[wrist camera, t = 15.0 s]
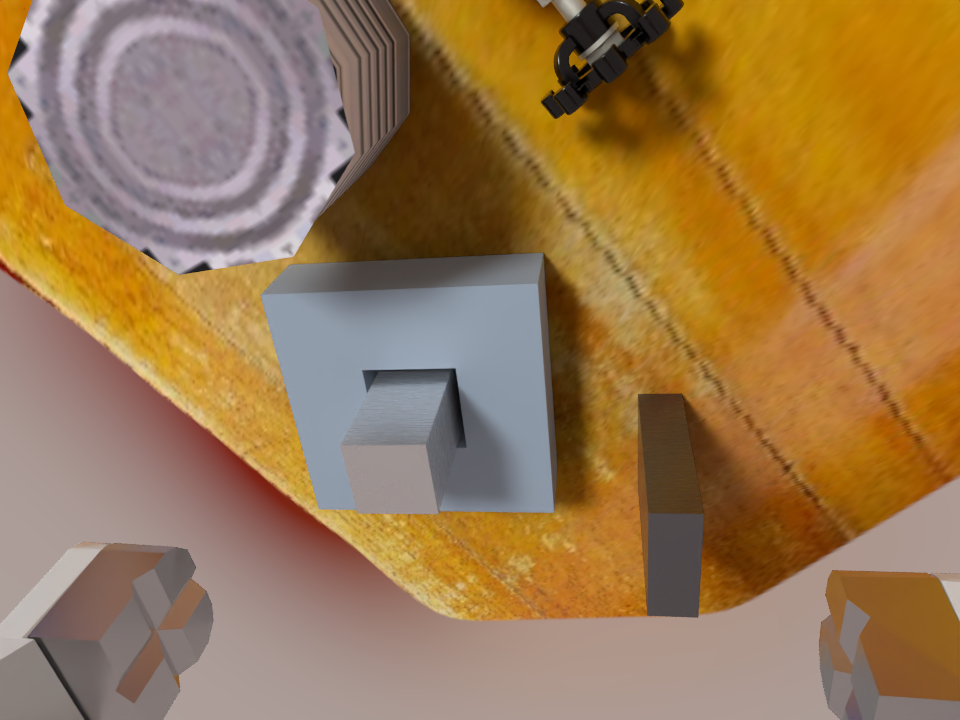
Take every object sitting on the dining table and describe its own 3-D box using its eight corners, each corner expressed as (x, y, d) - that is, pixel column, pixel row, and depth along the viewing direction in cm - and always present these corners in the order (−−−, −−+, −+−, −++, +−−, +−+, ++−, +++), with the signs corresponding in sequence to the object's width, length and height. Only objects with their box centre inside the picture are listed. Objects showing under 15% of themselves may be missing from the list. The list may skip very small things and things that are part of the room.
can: (145, -30, 34) (-56, -20, 23) (371, -108, 31) (256, -137, 20) (244, 205, 39) (116, 299, 28) (446, 156, 36) (385, 240, 26)
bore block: (543, 252, 38) (537, 283, 34) (557, 468, 44) (554, 512, 41) (289, 264, 40) (260, 294, 37) (339, 467, 47) (319, 509, 43)
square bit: (462, 339, 41) (425, 444, 32) (470, 399, 43) (438, 514, 34) (393, 342, 41) (340, 445, 33) (405, 401, 43) (357, 513, 35)
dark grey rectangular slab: (681, 393, 40) (704, 514, 32) (678, 485, 44) (698, 617, 35) (637, 394, 41) (648, 513, 32) (638, 484, 44) (647, 615, 35)
